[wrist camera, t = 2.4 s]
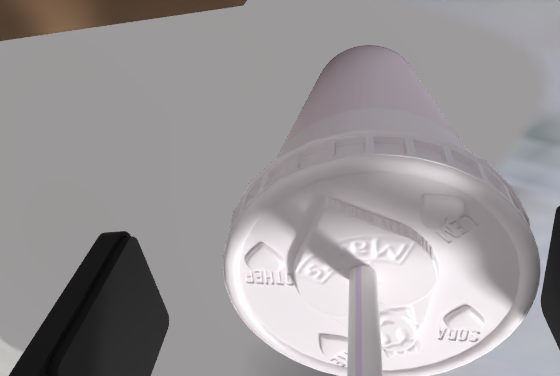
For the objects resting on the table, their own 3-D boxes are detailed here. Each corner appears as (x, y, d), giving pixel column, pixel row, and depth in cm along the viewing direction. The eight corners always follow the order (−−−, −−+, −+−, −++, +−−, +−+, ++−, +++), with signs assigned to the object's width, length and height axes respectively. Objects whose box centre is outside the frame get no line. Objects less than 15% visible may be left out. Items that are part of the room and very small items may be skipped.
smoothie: (427, -30, 15) (644, 332, 4) (478, 137, 18) (685, 626, 7) (249, 51, 17) (40, 434, 6) (320, 188, 20) (273, 620, 9)
